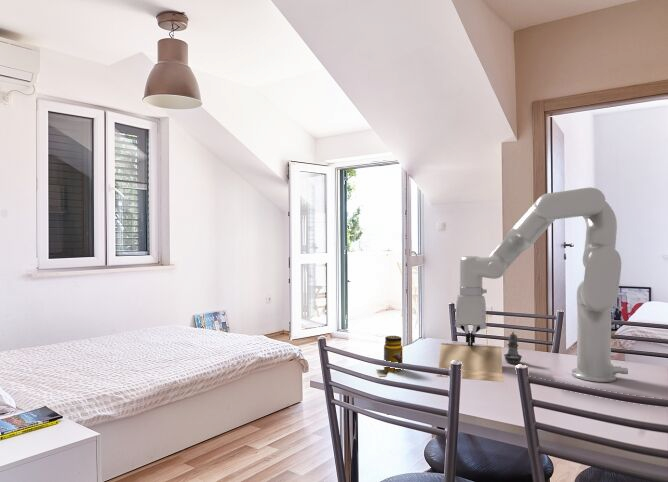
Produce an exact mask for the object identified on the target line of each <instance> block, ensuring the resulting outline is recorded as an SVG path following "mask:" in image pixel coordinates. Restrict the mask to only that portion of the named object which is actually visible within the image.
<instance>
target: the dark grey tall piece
mask: <svg viewBox="0 0 668 482" xmlns="http://www.w3.org/2000/svg"><path fill="white" fill-rule="evenodd" d="M511 332H512V333H511V334H509V335H508V343H507V345H506V346H507V348H508V351H507V353H504V354H503V356H504V360H505V361H506V363H508V364H512V365H513V364H514V365H517V364H519V363H520V362H521V360H522V358H523V356H522V355H520V354H519V352H518V347H519V344H518V336H517V335H516V334H515V332H514V331H511Z"/></svg>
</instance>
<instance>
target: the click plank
mask: <svg viewBox="0 0 668 482" xmlns="http://www.w3.org/2000/svg"><path fill="white" fill-rule="evenodd" d="M502 355H503V354H502V347H501V346H496V345H495V346H494V345H493V346H492V345H479V344H478V345H477V344H475V345H474V344H473V346H471V345H469V346H468V344H464V343H463V344H461V343H448V342H447V343H445V342H441V343H440V354H439V364H438V369H439V368H447V369H449V367H450V362H451V361H452V360H459V361H461V362H462V364H463V366H462V370H472V371H485V372H498V373H502V374H503V361H502V360H503V359H502V358H503V356H502Z"/></svg>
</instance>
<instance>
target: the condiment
mask: <svg viewBox="0 0 668 482" xmlns="http://www.w3.org/2000/svg"><path fill="white" fill-rule="evenodd" d="M384 339H385V341H384V345H383V361H384V360H386V361H391V362H398V363H402V364H403V345H402V337H401V336H397V335H387V336H385V338H384ZM375 370H376V373H377V375H378V377H387V376H388V374H389V373H400V372H402V371H403V369H402V370H401V369H395V368H390V367H384V366H383V369H375Z"/></svg>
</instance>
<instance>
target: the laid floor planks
mask: <svg viewBox="0 0 668 482" xmlns="http://www.w3.org/2000/svg"><path fill="white" fill-rule="evenodd" d="M445 369H448V368H445ZM435 376H436V377H438V378H439V377H441V378H449V377H448V376H442V375H437V374H436V375H435ZM461 379H464V380H477V381H489V382H500V383H504V376H503V372H502V373H499V372H487V371H474V370H462V378H461Z"/></svg>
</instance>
